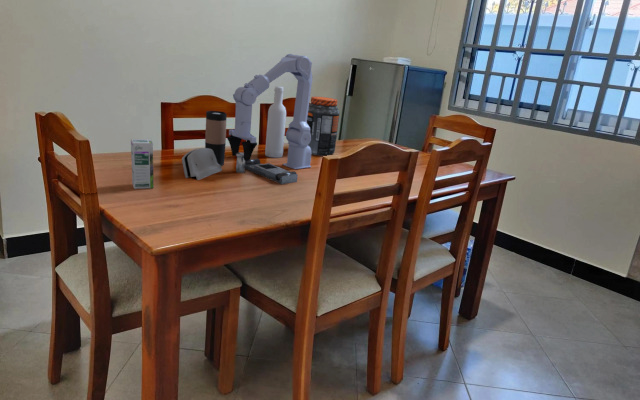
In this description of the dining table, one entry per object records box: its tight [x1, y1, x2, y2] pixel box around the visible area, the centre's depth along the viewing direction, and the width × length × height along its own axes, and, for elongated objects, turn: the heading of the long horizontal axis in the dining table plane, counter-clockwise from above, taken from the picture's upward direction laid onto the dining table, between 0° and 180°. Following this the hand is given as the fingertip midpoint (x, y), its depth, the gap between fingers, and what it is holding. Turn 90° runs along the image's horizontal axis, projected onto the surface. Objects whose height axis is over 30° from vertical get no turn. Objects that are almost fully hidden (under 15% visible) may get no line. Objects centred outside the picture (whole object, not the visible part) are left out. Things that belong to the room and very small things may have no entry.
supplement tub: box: [307, 96, 340, 157], centre depth 207 cm, size 16×16×26 cm
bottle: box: [264, 86, 287, 159], centre depth 190 cm, size 8×8×30 cm
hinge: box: [181, 147, 223, 181], centre depth 156 cm, size 17×5×10 cm, turn 163°
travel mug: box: [204, 110, 228, 167], centre depth 167 cm, size 8×8×20 cm
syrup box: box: [130, 138, 155, 190], centre depth 134 cm, size 6×6×14 cm
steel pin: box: [235, 151, 246, 174], centre depth 163 cm, size 4×4×7 cm
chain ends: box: [245, 158, 299, 185], centre depth 165 cm, size 8×26×3 cm, turn 45°
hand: (240, 157), depth 162 cm, fingers open, 7 cm apart
